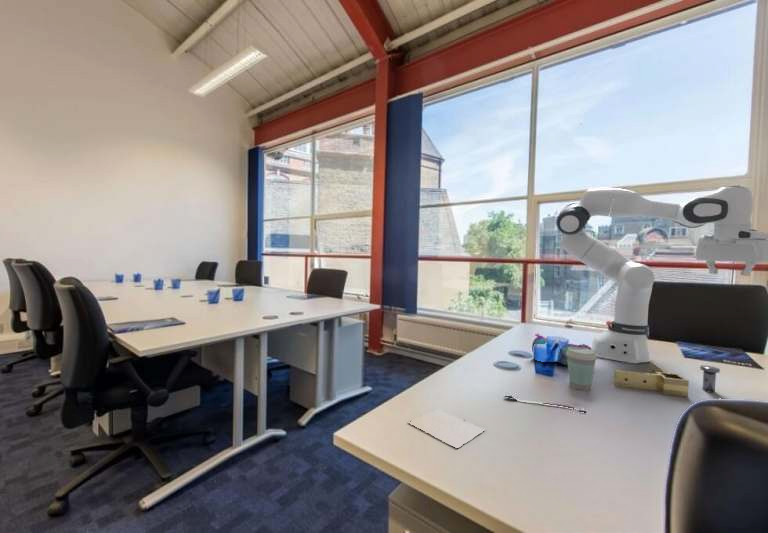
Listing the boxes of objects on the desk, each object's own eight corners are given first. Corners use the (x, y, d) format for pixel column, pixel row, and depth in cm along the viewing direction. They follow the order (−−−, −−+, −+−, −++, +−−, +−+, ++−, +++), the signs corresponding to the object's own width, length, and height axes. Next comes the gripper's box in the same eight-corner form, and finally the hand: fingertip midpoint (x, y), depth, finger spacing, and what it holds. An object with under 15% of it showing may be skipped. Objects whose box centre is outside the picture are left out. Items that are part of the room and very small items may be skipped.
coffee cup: (593, 384, 110) (594, 348, 110) (597, 394, 102) (599, 355, 102) (563, 380, 114) (565, 344, 113) (565, 389, 106) (566, 351, 105)
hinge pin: (702, 391, 105) (703, 368, 105) (696, 386, 109) (698, 364, 109) (721, 394, 103) (722, 371, 103) (715, 389, 107) (716, 366, 107)
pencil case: (595, 368, 126) (596, 342, 125) (586, 373, 120) (587, 347, 120) (539, 354, 142) (540, 332, 141) (529, 359, 136) (530, 335, 135)
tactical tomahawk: (582, 407, 96) (582, 403, 96) (586, 416, 90) (587, 411, 90) (504, 393, 104) (504, 390, 104) (503, 400, 98) (503, 397, 98)
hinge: (687, 397, 101) (688, 380, 101) (617, 388, 107) (618, 373, 107) (660, 376, 118) (661, 362, 118) (601, 369, 124) (601, 356, 124)
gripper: (691, 235, 125) (689, 272, 126) (760, 232, 105) (757, 277, 106) (706, 235, 126) (703, 272, 127) (777, 233, 106) (773, 277, 107)
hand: (728, 274), depth 116 cm, fingers open, 8 cm apart
